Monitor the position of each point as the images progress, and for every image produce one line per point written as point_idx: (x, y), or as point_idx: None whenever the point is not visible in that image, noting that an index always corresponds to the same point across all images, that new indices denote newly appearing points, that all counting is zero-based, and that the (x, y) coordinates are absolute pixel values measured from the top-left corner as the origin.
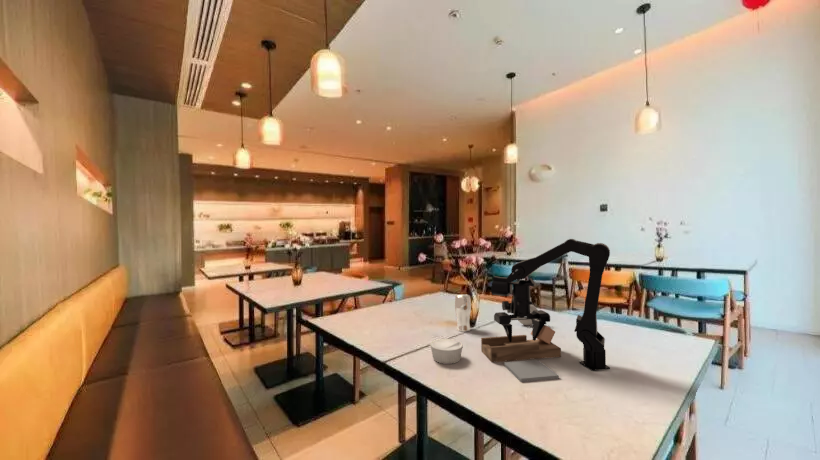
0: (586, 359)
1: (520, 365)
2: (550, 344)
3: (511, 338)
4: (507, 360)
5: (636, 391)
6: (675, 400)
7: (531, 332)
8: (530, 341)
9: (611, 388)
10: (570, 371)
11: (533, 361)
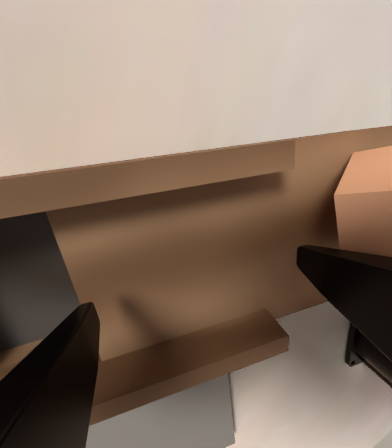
0: (375, 360)
1: (122, 415)
2: None
3: (92, 374)
4: None
5: (352, 428)
6: (380, 436)
7: (359, 195)
8: (284, 180)
9: (319, 433)
10: (289, 376)
11: None
